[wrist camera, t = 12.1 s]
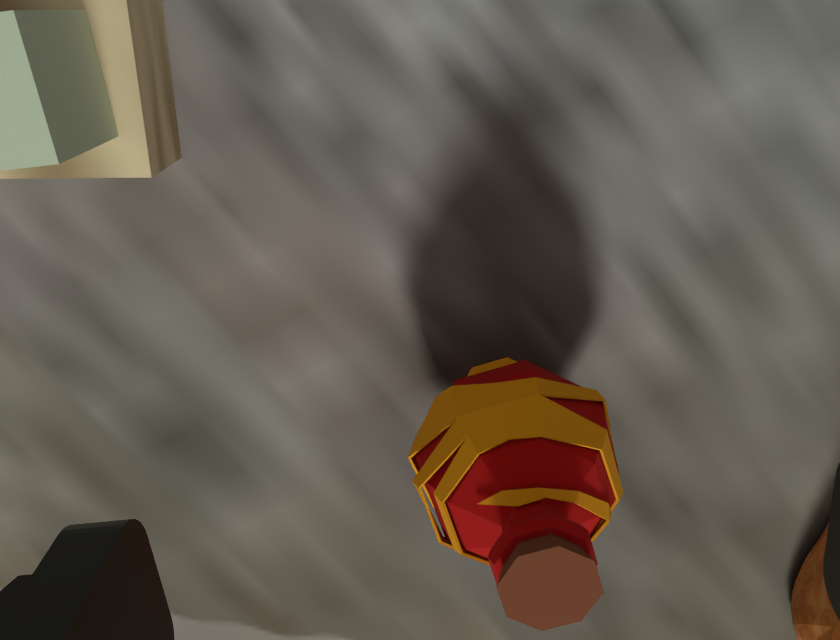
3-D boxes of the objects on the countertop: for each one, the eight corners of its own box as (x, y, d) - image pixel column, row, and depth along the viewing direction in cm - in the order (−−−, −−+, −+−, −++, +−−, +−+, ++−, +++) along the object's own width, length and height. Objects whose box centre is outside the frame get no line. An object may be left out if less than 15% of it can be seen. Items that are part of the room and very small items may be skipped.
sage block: (85, 9, 30) (13, 10, 24) (118, 136, 31) (59, 164, 26) (-38, 24, 30) (-138, 28, 24) (2, 149, 32) (-82, 180, 26)
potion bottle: (605, 322, 40) (712, 484, 27) (573, 480, 44) (652, 693, 31) (415, 307, 40) (422, 466, 26) (399, 469, 44) (399, 681, 30)
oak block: (160, -21, 34) (122, -26, 29) (182, 156, 37) (151, 177, 32) (-18, -21, 34) (-84, -26, 29) (19, 157, 37) (-36, 178, 32)
